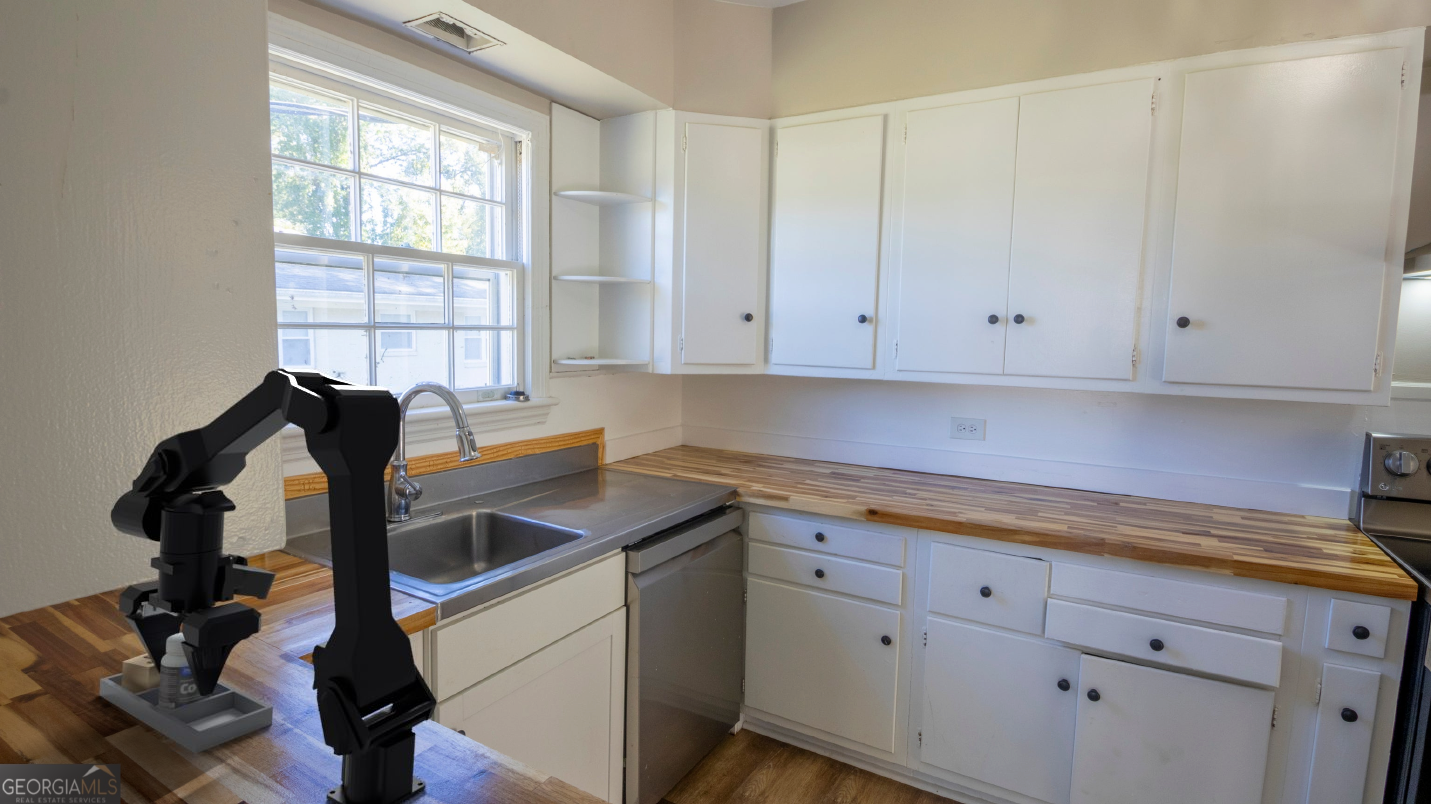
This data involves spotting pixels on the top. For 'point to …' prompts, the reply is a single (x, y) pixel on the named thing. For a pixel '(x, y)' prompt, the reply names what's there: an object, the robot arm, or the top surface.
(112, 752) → the top surface
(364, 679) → the robot arm
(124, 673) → the letter cube
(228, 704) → the bay dish
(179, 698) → the pill bottle
